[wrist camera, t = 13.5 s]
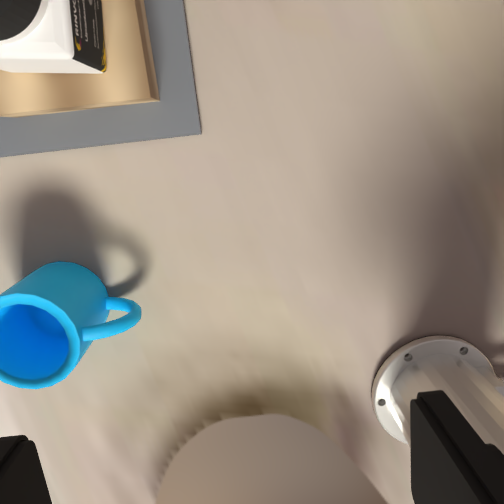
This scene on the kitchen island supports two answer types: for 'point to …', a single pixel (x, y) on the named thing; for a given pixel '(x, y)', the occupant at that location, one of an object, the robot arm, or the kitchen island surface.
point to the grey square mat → (125, 116)
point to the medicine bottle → (52, 36)
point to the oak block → (92, 85)
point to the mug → (55, 323)
